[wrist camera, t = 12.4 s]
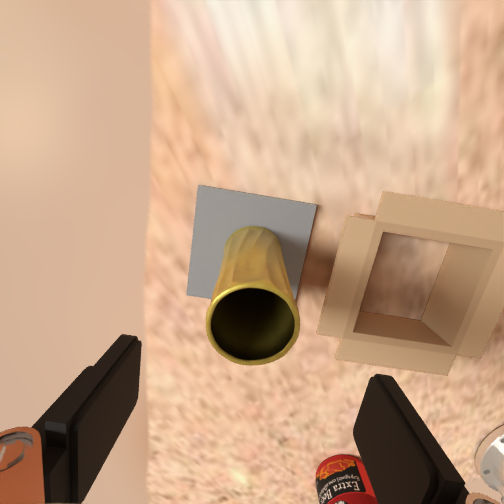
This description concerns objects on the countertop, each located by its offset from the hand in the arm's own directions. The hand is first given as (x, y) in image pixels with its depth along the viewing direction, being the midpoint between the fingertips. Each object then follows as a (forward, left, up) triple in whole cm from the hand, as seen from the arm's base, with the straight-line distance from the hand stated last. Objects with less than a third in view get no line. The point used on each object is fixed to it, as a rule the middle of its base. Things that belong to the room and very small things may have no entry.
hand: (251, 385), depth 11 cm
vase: (0, 0, -19) cm, 19 cm away
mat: (0, 0, -19) cm, 19 cm away
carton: (0, -16, -19) cm, 24 cm away
